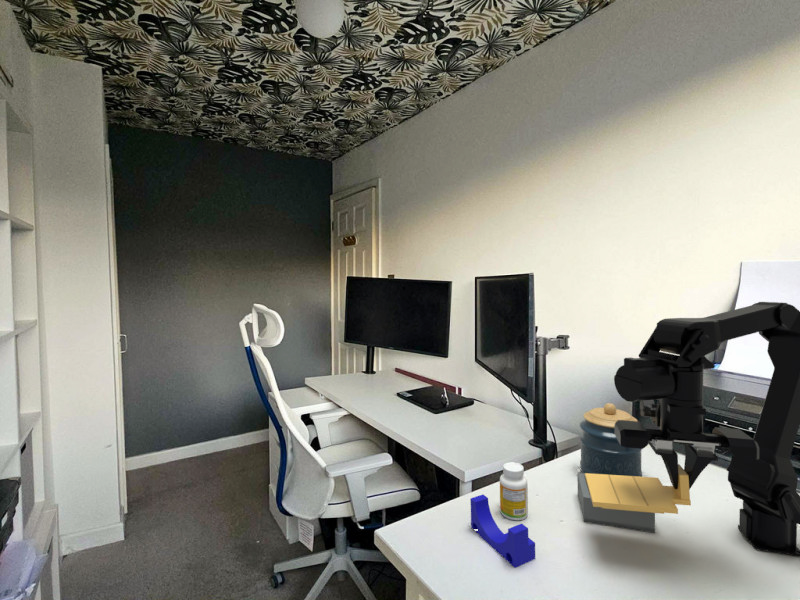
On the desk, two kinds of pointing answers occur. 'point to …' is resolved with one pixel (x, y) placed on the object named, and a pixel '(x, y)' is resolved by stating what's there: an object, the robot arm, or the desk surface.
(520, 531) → the blue semicircular mounting bracket
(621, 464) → the canister
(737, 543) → the desk surface
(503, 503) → the supplement bottle
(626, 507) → the snap lid
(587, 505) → the parts tub
